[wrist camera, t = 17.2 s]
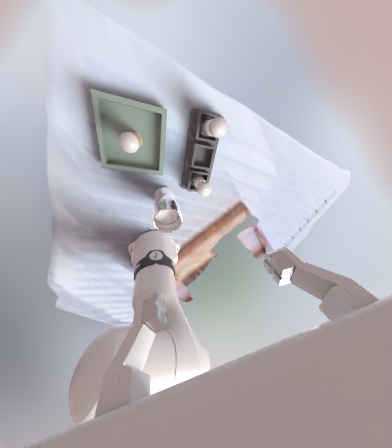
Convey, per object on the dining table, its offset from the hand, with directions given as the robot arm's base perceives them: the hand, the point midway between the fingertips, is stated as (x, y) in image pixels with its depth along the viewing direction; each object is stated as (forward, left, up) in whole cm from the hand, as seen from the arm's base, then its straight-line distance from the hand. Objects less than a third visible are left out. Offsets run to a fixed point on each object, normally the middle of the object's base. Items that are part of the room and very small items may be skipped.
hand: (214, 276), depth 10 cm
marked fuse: (+5, +9, -36) cm, 37 cm away
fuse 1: (-2, -8, -35) cm, 36 cm away
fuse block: (+5, -8, -36) cm, 37 cm away
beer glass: (-8, +1, -36) cm, 37 cm away
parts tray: (+6, +9, -36) cm, 38 cm away
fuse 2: (+11, -8, -35) cm, 38 cm away
